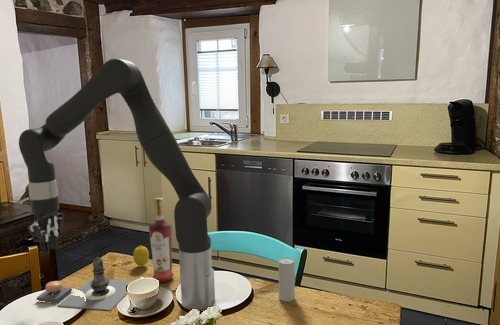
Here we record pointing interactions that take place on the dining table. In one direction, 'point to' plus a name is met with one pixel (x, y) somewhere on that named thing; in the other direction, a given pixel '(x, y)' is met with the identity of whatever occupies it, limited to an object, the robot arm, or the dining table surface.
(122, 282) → the slate board
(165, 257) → the liquor
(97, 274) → the chess piece
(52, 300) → the button housing
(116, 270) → the dining table surface
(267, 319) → the dining table surface
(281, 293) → the beverage can
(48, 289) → the button
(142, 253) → the lemon
